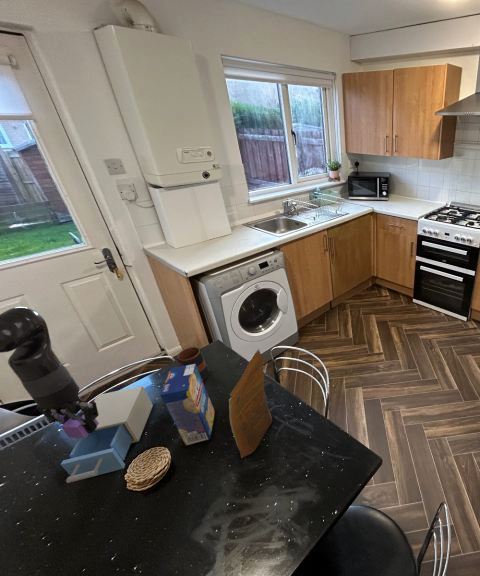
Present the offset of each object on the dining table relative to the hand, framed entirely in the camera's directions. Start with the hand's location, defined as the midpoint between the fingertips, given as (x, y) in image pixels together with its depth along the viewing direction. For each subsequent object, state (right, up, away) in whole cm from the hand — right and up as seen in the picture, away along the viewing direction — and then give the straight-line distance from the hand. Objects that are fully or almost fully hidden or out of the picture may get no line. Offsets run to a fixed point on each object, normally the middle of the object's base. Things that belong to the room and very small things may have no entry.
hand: (83, 429), depth 83 cm
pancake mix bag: (+41, -9, +15) cm, 45 cm away
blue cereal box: (+21, -8, +18) cm, 29 cm away
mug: (+8, +3, +36) cm, 37 cm away
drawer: (0, -12, +7) cm, 14 cm away
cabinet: (-4, -7, +18) cm, 19 cm away
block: (0, 0, 0) cm, 0 cm away
